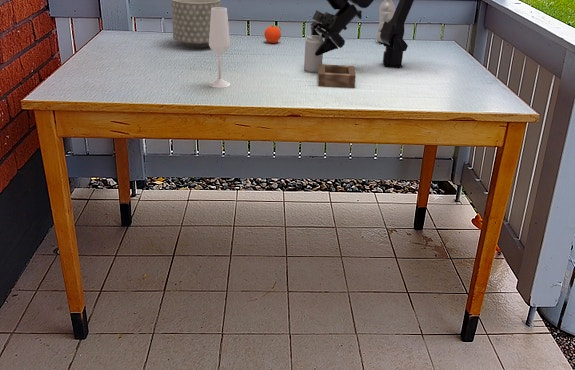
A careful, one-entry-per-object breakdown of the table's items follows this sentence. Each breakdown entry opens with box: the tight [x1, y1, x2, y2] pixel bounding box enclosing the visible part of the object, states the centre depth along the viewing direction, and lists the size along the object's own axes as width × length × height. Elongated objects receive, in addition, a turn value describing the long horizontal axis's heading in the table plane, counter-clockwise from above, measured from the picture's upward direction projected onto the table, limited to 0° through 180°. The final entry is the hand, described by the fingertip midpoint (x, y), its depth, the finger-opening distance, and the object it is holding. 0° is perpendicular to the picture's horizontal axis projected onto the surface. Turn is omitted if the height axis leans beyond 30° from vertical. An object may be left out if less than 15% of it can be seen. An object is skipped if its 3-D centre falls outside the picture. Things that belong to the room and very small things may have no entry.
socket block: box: [317, 63, 357, 89], centre depth 193 cm, size 12×12×4 cm
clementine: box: [264, 25, 282, 44], centre depth 239 cm, size 8×7×7 cm
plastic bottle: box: [375, 0, 396, 44], centre depth 243 cm, size 6×7×20 cm
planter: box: [170, 0, 222, 49], centre depth 227 cm, size 19×19×18 cm
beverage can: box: [303, 34, 324, 73], centre depth 202 cm, size 6×6×12 cm
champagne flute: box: [208, 6, 231, 88], centre depth 181 cm, size 7×7×24 cm
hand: (310, 51), depth 202 cm, fingers open, 9 cm apart
